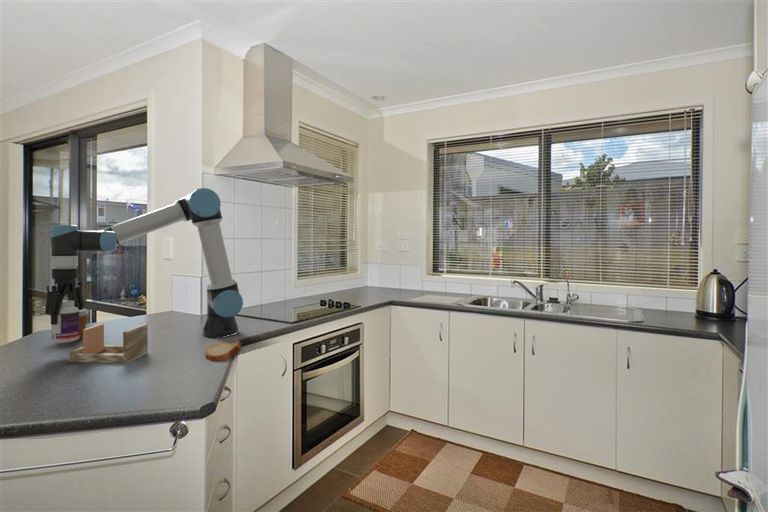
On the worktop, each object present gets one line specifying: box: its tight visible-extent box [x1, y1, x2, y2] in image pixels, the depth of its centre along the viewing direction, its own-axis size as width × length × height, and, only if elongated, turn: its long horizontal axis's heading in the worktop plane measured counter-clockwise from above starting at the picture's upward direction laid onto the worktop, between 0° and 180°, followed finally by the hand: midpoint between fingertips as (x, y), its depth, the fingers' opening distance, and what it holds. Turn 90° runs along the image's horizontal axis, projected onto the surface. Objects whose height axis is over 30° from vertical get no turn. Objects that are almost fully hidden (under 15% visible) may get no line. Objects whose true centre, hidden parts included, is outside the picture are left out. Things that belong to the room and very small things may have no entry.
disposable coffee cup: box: [76, 308, 89, 341], centre depth 176 cm, size 10×10×12 cm
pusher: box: [82, 323, 105, 354], centre depth 152 cm, size 1×9×10 cm, turn 0°
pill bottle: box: [50, 299, 80, 344], centre depth 151 cm, size 8×8×14 cm
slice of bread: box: [205, 340, 242, 362], centre depth 161 cm, size 18×18×4 cm
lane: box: [69, 323, 149, 364], centre depth 152 cm, size 20×12×11 cm, turn 90°
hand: (65, 330), depth 151 cm, fingers closed on pill bottle, 8 cm apart
